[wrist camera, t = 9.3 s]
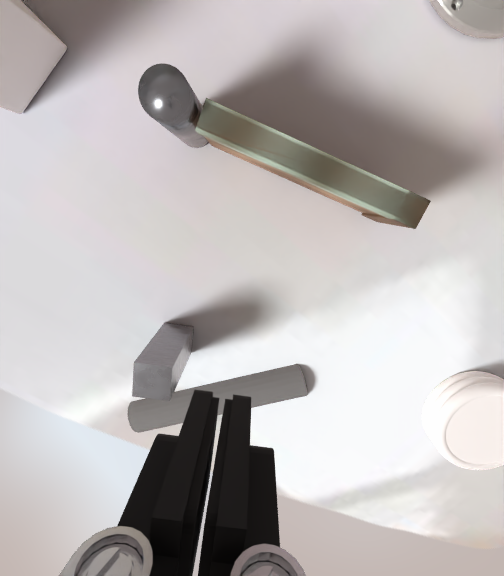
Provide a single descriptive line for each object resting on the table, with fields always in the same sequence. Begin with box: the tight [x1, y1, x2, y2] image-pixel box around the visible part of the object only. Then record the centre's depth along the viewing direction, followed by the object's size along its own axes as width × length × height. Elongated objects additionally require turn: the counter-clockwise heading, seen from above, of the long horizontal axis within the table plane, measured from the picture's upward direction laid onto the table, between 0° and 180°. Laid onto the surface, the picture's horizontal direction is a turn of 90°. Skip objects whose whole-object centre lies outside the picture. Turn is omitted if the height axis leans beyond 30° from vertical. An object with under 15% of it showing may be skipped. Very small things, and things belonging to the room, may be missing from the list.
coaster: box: [422, 371, 504, 470], centre depth 34 cm, size 10×10×4 cm
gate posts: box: [132, 64, 208, 401], centre depth 26 cm, size 3×23×10 cm, turn 172°
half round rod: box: [128, 364, 308, 432], centre depth 35 cm, size 4×20×2 cm, turn 105°
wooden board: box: [195, 98, 430, 229], centre depth 25 cm, size 16×2×7 cm, turn 67°
